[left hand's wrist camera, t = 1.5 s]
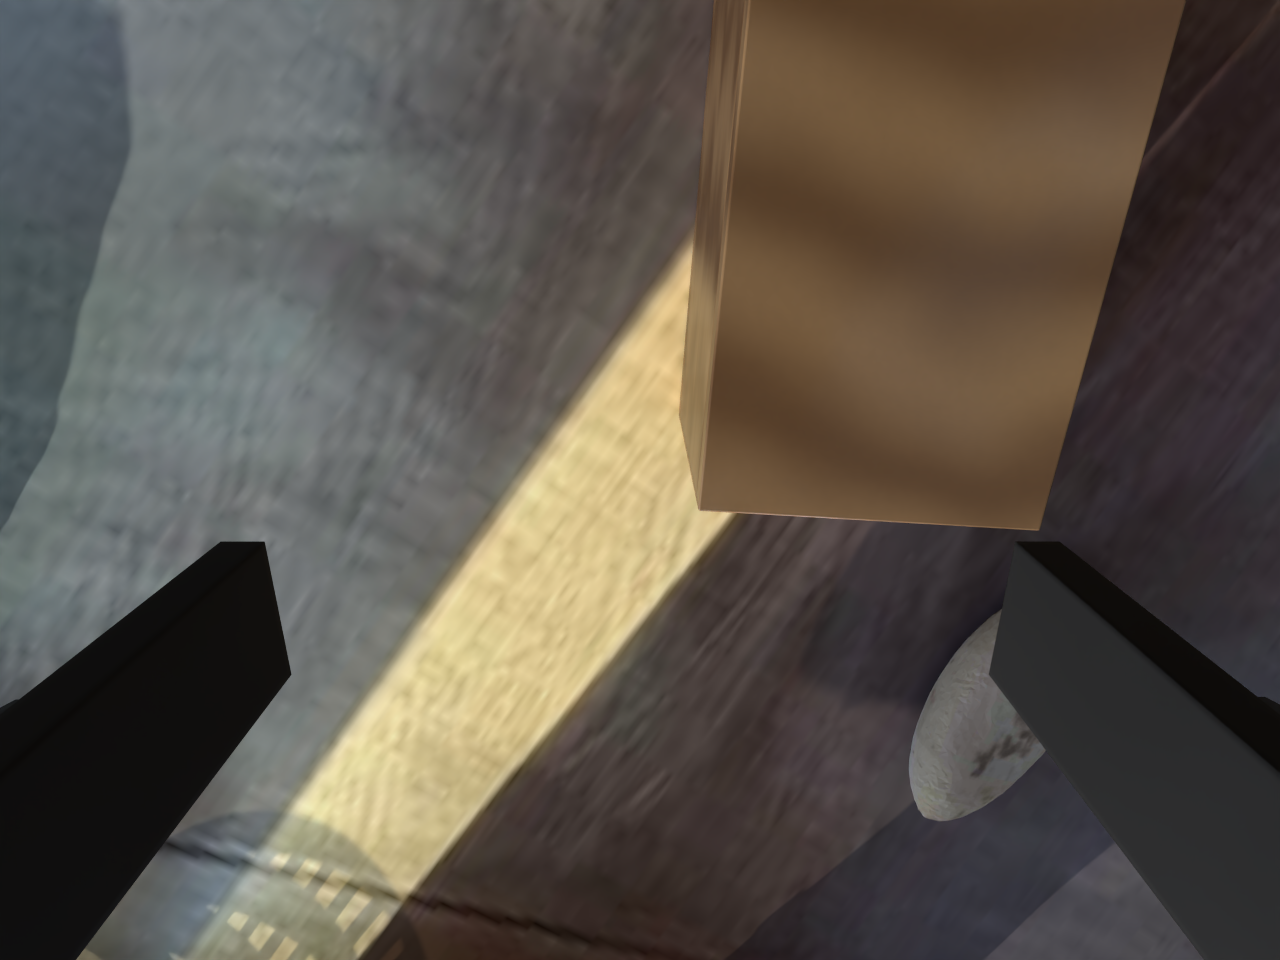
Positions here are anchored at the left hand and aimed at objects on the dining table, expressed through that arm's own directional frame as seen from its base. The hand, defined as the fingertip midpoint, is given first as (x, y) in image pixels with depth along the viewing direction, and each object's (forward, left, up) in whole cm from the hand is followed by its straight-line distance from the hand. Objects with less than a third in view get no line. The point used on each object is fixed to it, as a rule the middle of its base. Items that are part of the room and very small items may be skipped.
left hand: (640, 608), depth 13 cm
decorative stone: (-18, -17, -20) cm, 32 cm away
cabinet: (+5, -8, -20) cm, 23 cm away
